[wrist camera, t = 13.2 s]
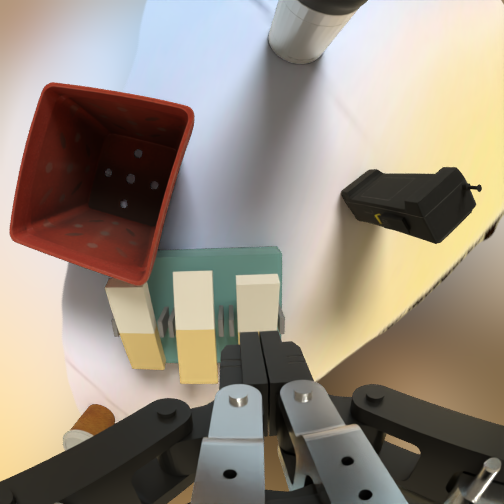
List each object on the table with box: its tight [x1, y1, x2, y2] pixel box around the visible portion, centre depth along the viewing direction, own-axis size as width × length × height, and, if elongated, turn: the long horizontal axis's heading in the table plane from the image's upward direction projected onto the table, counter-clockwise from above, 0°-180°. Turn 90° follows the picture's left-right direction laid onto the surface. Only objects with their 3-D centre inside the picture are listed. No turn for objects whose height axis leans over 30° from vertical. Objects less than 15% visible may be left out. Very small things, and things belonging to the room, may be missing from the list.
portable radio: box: [341, 167, 482, 244], centre depth 36 cm, size 8×6×25 cm
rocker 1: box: [105, 278, 166, 370], centre depth 40 cm, size 15×5×2 cm, turn 1°
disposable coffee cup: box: [63, 404, 115, 451], centre depth 49 cm, size 10×10×12 cm
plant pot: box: [10, 82, 194, 286], centre depth 37 cm, size 19×19×17 cm
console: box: [112, 246, 285, 363], centre depth 46 cm, size 17×24×10 cm
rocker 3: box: [236, 274, 280, 345], centre depth 41 cm, size 15×5×2 cm, turn 1°
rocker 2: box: [173, 271, 218, 384], centre depth 41 cm, size 15×5×2 cm, turn 1°
